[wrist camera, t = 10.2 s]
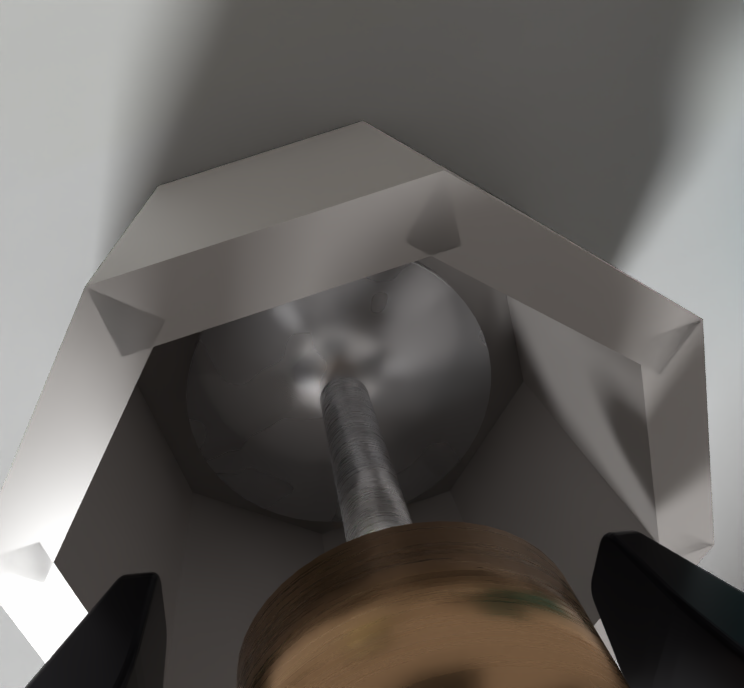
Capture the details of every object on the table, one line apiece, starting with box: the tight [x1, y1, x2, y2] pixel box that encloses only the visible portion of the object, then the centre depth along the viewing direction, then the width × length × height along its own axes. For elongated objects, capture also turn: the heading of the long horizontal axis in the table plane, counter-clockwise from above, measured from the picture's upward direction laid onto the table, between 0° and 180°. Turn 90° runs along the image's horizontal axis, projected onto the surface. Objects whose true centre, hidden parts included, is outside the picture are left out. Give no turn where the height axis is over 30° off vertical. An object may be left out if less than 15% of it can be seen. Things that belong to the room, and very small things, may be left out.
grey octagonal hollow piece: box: [0, 121, 714, 688], centre depth 11 cm, size 11×9×5 cm
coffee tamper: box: [186, 260, 630, 688], centre depth 9 cm, size 6×6×8 cm
